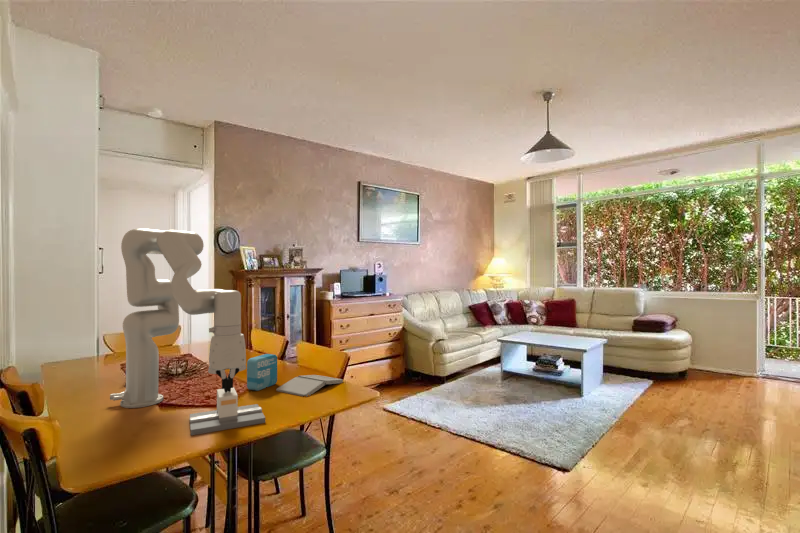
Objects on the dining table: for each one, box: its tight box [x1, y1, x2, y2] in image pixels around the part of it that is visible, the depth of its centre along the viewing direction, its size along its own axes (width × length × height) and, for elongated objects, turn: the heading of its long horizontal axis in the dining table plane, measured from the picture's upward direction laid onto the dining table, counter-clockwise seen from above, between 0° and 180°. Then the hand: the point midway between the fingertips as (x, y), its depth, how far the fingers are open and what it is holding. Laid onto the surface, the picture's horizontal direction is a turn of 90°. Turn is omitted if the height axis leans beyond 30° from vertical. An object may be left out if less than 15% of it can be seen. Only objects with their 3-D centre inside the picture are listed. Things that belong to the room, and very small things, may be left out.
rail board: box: [189, 403, 266, 436], centre depth 124 cm, size 20×14×2 cm
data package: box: [246, 353, 278, 392], centre depth 160 cm, size 12×4×12 cm, turn 156°
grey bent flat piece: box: [275, 374, 344, 397], centre depth 161 cm, size 23×15×4 cm, turn 151°
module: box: [216, 386, 239, 422], centre depth 124 cm, size 5×9×7 cm, turn 29°
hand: (227, 390), depth 124 cm, fingers closed
